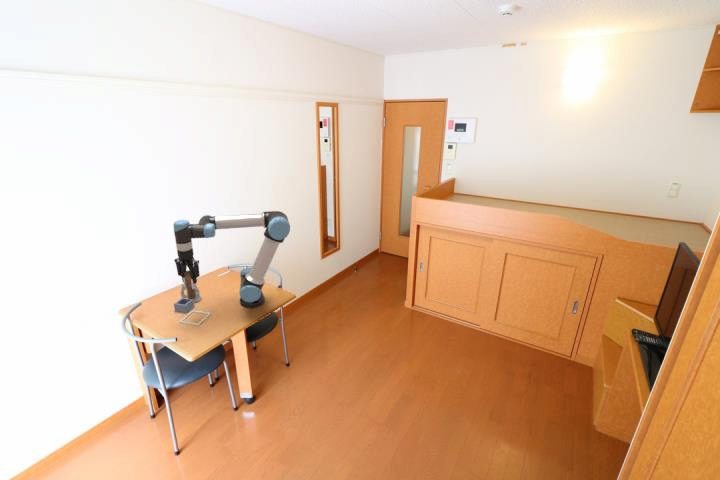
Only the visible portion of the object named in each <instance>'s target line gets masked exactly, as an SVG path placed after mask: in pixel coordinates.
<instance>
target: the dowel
mask: <svg viewBox="0 0 720 480" xmlns="http://www.w3.org/2000/svg"><path fill="white" fill-rule="evenodd" d="M184 275H185V281H186V288H187V290H186V295H187V294H188V299H195V298H196V293H195V289H192V284H191V278H192V276H191V273H190V271H189V270H186V271H185V272H184Z"/></svg>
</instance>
